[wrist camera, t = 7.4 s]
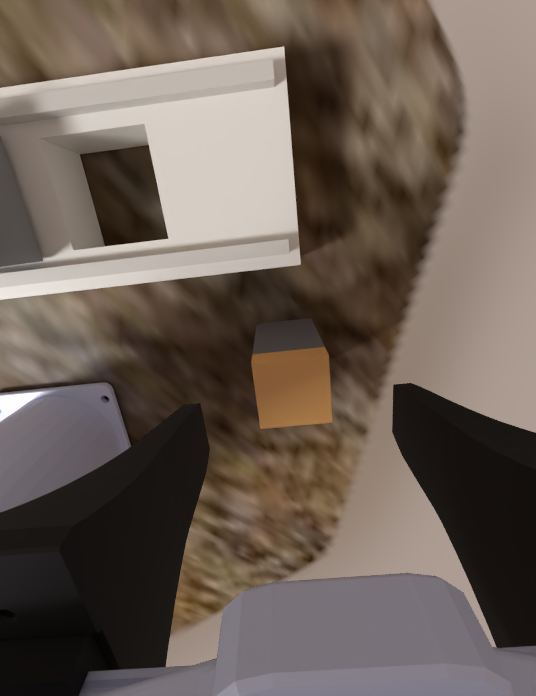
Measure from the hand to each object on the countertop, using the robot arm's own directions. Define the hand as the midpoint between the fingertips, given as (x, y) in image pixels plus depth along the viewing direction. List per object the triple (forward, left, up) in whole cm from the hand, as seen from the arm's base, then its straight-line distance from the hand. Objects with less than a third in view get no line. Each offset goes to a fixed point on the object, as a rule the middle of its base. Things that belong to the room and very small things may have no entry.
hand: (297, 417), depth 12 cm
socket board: (+9, +9, -8) cm, 15 cm away
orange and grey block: (0, 0, -8) cm, 8 cm away
